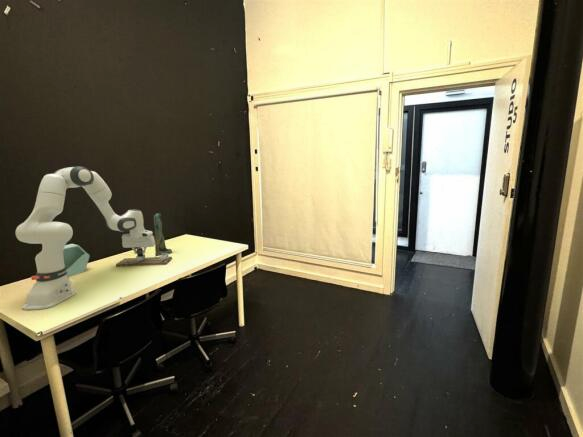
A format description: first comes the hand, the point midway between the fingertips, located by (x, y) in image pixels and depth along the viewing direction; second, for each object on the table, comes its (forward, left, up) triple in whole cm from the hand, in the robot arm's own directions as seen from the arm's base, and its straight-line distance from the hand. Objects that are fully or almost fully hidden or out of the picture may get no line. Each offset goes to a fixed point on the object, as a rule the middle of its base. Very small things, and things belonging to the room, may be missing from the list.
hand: (140, 253), depth 203 cm
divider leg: (-1, 0, -5) cm, 5 cm away
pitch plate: (0, -2, -7) cm, 7 cm away
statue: (+19, -8, -7) cm, 22 cm away
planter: (-15, +36, -7) cm, 39 cm away
